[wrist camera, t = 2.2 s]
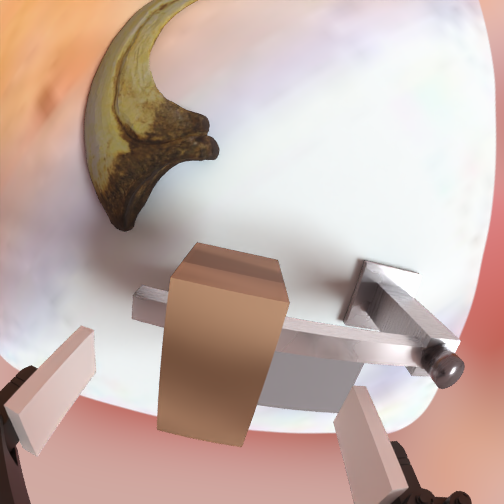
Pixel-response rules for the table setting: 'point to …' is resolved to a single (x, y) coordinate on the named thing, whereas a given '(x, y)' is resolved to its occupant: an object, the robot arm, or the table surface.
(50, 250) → the table surface
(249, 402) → the tan brick
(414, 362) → the grey lever handle
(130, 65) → the claw
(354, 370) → the mat
